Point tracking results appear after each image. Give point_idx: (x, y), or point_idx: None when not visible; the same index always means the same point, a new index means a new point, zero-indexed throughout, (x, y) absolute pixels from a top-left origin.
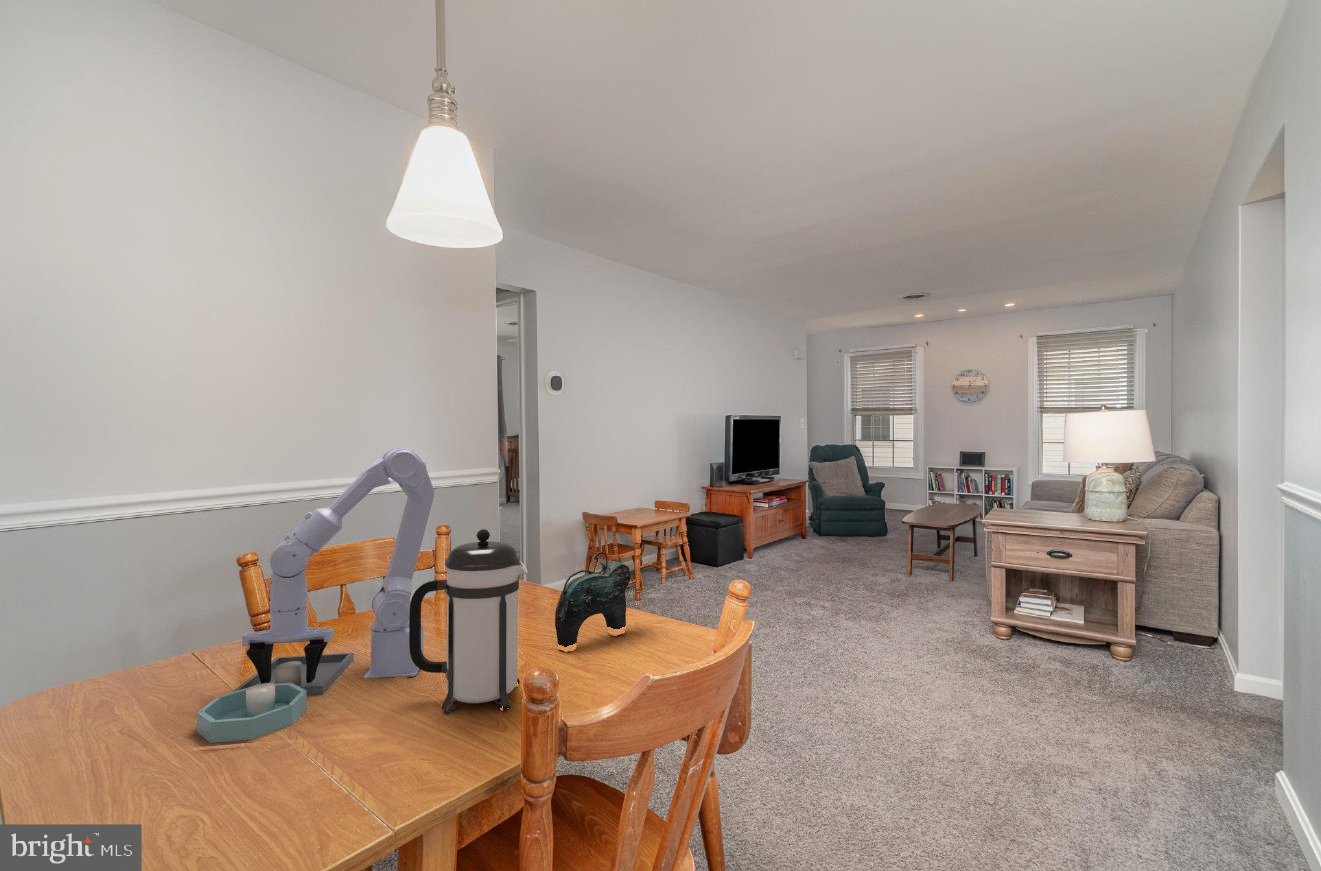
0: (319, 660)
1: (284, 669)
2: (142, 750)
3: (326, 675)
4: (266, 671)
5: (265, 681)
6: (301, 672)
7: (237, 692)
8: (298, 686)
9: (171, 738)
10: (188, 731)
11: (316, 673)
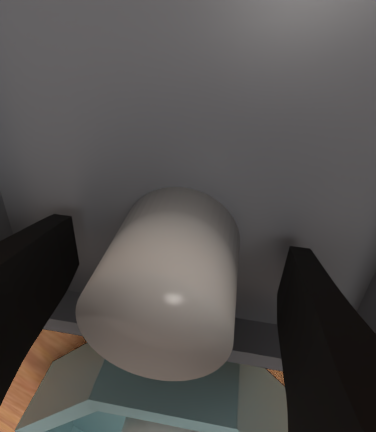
0: (367, 327)
1: (155, 377)
2: (3, 425)
3: (369, 120)
4: (36, 298)
5: (68, 277)
6: (236, 284)
7: (58, 425)
8: (255, 358)
9: (19, 407)
10: (32, 394)
11: (291, 57)
